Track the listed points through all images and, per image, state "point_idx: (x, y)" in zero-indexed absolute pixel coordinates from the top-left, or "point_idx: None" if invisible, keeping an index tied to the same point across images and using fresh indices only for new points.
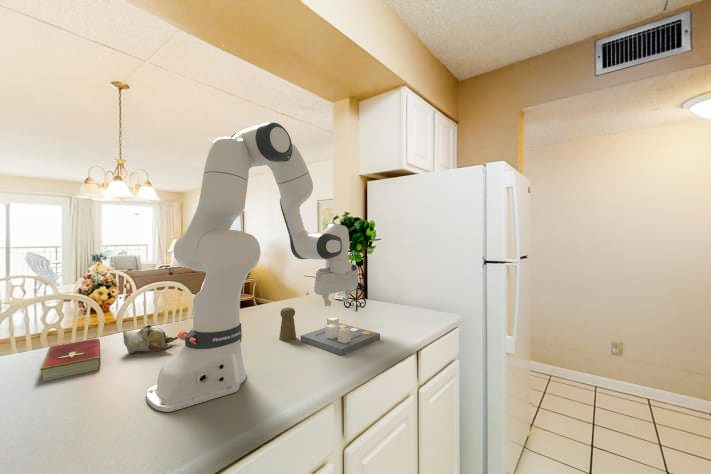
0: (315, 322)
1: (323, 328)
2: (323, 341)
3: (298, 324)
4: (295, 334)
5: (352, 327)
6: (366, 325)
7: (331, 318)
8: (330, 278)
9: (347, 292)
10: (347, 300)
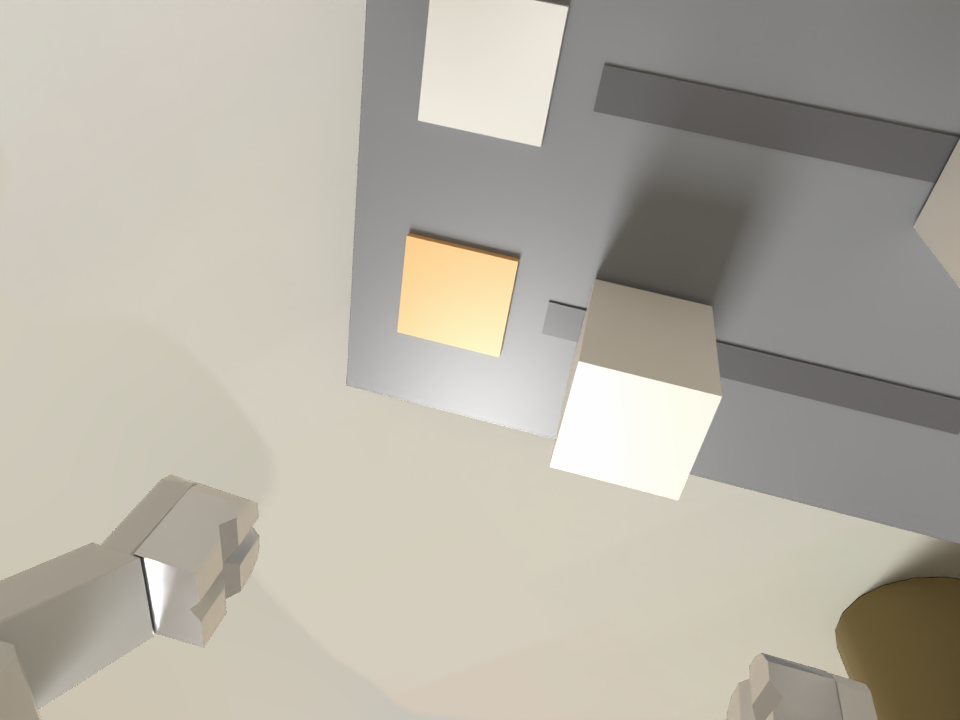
0: (372, 612)
1: None
2: None
3: (506, 696)
4: (926, 617)
5: (396, 150)
6: (69, 117)
7: (624, 455)
8: None
9: (19, 680)
10: (180, 499)
